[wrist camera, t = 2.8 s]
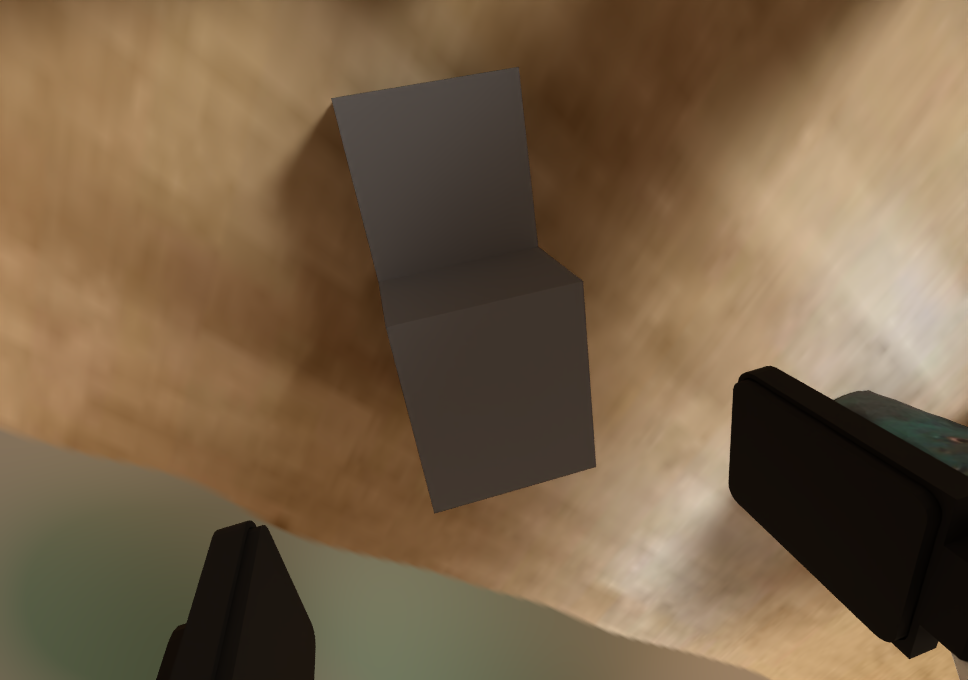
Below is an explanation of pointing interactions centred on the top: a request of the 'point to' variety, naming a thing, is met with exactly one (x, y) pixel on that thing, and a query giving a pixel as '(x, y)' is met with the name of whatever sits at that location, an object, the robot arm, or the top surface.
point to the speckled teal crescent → (914, 427)
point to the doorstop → (470, 286)
